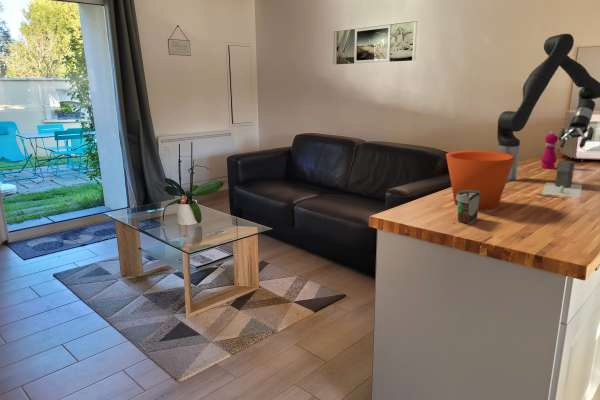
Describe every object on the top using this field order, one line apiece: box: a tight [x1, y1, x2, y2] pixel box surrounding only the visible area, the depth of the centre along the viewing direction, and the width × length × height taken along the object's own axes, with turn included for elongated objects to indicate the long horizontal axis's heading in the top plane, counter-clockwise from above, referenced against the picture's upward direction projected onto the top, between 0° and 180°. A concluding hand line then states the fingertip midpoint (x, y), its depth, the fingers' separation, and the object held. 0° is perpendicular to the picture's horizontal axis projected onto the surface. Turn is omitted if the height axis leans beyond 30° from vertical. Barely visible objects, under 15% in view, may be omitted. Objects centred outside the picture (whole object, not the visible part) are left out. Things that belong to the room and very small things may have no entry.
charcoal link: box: [555, 160, 575, 188], centre depth 194 cm, size 5×5×11 cm
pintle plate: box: [540, 181, 583, 200], centre depth 190 cm, size 24×14×4 cm, turn 147°
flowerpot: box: [445, 149, 515, 210], centre depth 174 cm, size 25×25×20 cm
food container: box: [456, 190, 480, 226], centre depth 156 cm, size 12×6×10 cm, turn 141°
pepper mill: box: [540, 131, 559, 170], centre depth 239 cm, size 7×7×20 cm
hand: (571, 146), depth 209 cm, fingers open, 8 cm apart
